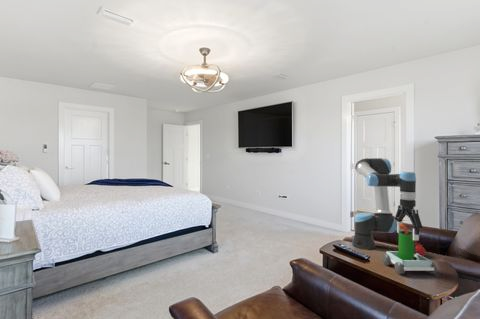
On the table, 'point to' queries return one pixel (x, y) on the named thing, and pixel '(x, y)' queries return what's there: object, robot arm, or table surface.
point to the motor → (406, 245)
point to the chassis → (409, 263)
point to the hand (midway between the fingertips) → (407, 236)
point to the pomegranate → (420, 249)
